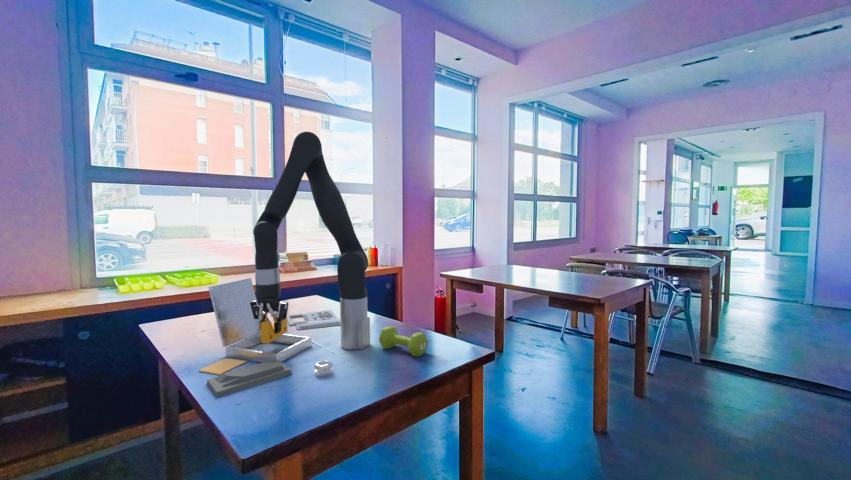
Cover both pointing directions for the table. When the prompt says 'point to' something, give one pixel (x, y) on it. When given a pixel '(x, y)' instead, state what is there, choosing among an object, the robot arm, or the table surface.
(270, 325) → the yellow curved stepped piece
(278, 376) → the grey bevelled block
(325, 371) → the metal grooved wheel
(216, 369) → the tan rectangular plate
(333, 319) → the office telephone
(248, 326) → the lid
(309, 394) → the table surface
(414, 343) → the dumbbell
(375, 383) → the table surface
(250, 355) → the case
